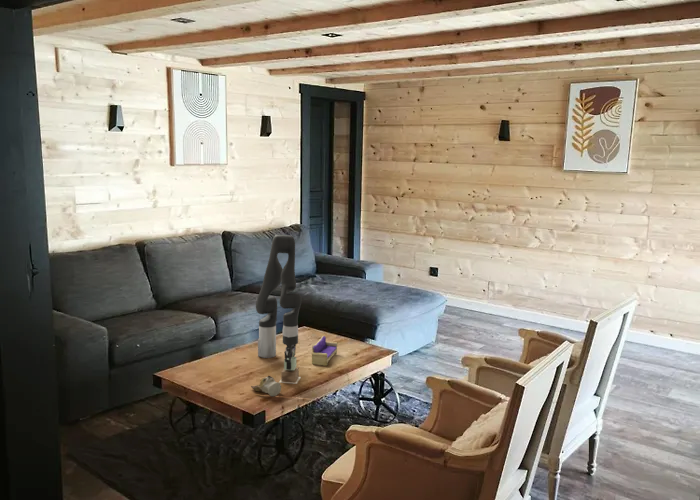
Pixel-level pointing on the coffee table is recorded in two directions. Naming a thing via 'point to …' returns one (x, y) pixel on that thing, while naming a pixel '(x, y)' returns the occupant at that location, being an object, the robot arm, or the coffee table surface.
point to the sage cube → (293, 364)
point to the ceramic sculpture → (268, 386)
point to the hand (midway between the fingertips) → (290, 367)
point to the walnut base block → (290, 375)
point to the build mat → (291, 382)
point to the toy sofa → (323, 351)
